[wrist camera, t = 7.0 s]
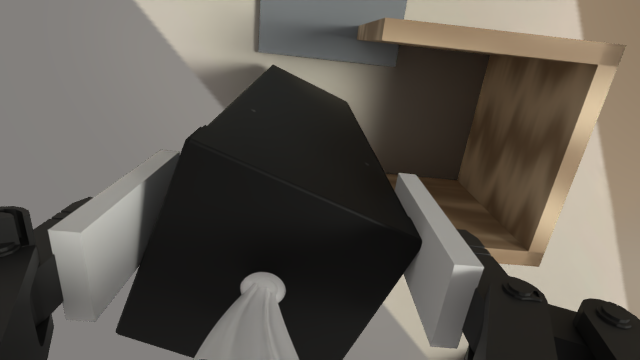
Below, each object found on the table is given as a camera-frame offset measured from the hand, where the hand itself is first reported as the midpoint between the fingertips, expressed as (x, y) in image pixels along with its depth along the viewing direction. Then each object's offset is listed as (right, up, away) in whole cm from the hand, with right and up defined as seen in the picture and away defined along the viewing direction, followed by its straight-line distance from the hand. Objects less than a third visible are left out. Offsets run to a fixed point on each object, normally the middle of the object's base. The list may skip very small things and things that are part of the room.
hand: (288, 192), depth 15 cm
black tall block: (-1, +7, +20) cm, 21 cm away
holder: (+11, +7, +21) cm, 24 cm away
